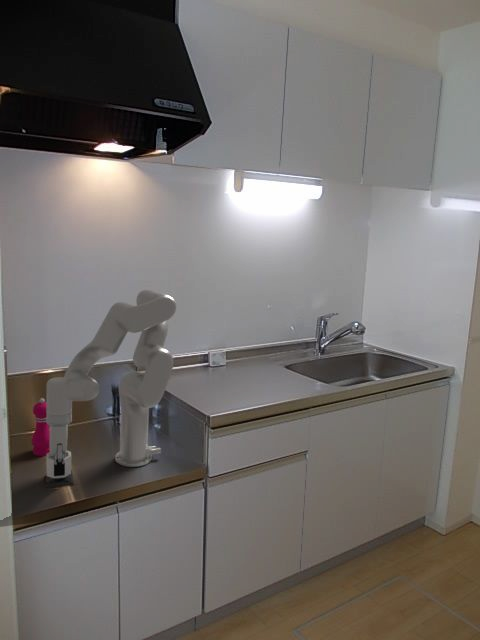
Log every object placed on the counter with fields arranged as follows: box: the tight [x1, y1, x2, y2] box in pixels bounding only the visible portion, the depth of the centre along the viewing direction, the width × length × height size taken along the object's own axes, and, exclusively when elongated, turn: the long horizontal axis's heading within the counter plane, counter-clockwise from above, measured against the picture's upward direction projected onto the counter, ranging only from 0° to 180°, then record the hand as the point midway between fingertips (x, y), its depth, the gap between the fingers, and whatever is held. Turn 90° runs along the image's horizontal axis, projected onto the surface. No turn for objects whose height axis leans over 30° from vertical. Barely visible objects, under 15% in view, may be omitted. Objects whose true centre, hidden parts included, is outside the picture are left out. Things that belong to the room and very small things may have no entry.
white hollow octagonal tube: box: [45, 450, 72, 478], centre depth 174 cm, size 7×7×6 cm
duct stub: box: [45, 469, 74, 488], centre depth 175 cm, size 8×8×6 cm
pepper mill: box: [30, 397, 50, 457], centre depth 192 cm, size 7×7×20 cm
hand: (58, 469), depth 175 cm, fingers closed on white hollow octagonal tube, 7 cm apart
